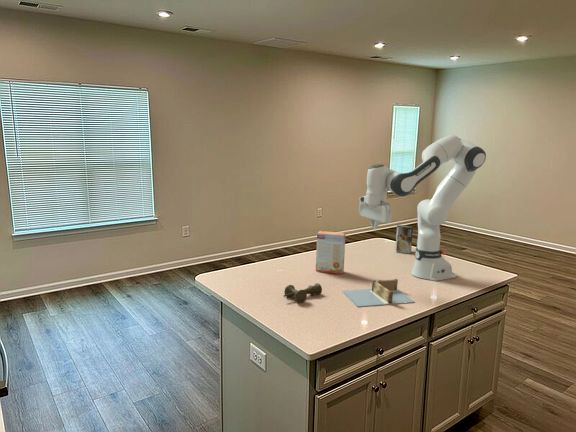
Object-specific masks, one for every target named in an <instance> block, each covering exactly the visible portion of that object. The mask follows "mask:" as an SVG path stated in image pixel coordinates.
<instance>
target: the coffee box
mask: <svg viewBox="0 0 576 432" xmlns="http://www.w3.org/2000/svg"><path fill="white" fill-rule="evenodd" d="M413 229H414V228H413V226H412V225H400V224H397V225H396V236H395V238H396V239H395V249H394V250H395V252H396V253H401V254H412V245H413Z"/></svg>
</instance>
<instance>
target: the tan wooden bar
mask: <svg viewBox="0 0 576 432" xmlns="http://www.w3.org/2000/svg"><path fill="white" fill-rule="evenodd" d="M371 281H372V283H371V289H372V291H373V292H375V293H376V294H377V295H379V296H380V297H382V298H383V299H385V300H386V301H387V302H388V303H392V298H393V292H392V291H390V290H388V289H386V288H385V287H383V286H382V285H380V284H379V283H377V280H375V279H372V280H371Z"/></svg>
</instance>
